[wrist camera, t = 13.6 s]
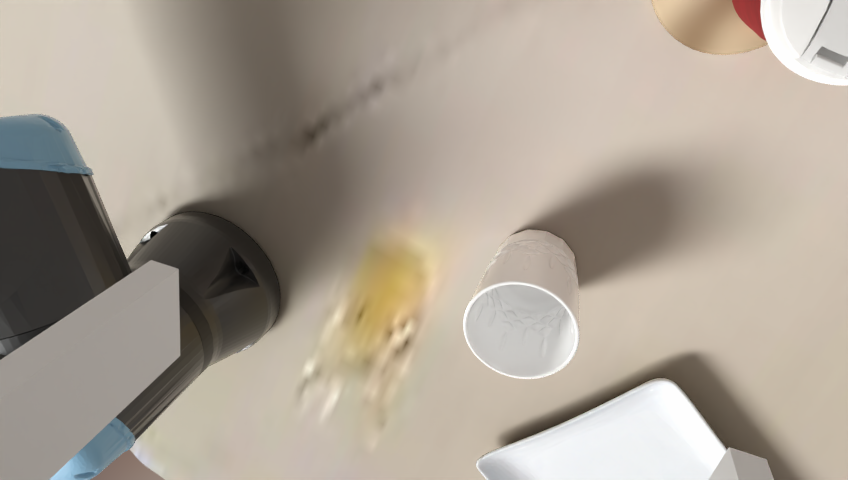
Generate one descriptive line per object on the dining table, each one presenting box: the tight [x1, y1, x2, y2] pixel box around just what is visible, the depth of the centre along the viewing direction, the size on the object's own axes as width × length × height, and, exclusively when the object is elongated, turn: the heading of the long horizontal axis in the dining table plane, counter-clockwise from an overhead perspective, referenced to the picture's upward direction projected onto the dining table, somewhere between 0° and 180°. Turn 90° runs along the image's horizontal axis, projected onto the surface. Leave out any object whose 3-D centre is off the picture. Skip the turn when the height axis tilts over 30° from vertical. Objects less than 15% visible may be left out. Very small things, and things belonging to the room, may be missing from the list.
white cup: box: [463, 229, 580, 379], centre depth 43 cm, size 8×8×10 cm
